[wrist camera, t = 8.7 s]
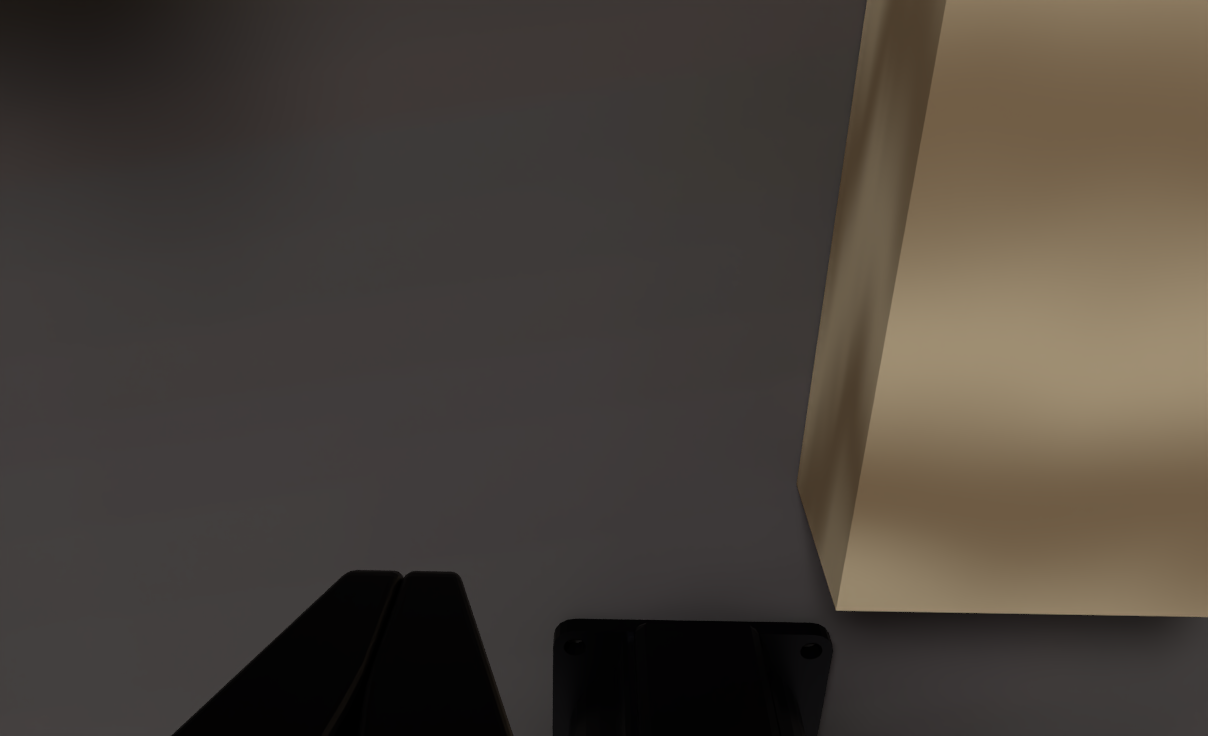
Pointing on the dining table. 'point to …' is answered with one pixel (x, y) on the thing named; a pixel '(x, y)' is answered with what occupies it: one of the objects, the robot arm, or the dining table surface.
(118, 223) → the dining table surface
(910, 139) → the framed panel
